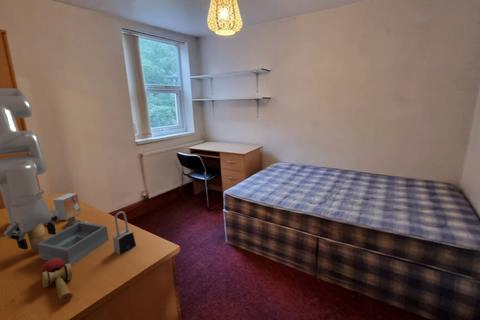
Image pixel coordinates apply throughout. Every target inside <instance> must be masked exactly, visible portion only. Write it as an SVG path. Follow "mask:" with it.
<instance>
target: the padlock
mask: <svg viewBox="0 0 480 320" xmlns="http://www.w3.org/2000/svg"><path fill="white" fill-rule="evenodd" d="M120 214H122V215H123V220H124V225H125V230H123V231H120V230H119V222H118V216H119V215H120ZM114 222H115V228H116V234H115V235H114V236H113V237H112V239H113V251H114V252H115V254H118V255H119V256H120V255H122V254H124V253H126V252H128V251H130V250H131V249H133V248H134V247H136V246H137V243H136V238H135V235H134V232H133V231H131V230H129V225H128V219H127V215H126V213H125V211H118V212H116V213H115V215H114Z"/></svg>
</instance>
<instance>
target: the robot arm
mask: <svg viewBox="0 0 480 320" xmlns="http://www.w3.org/2000/svg"><path fill="white" fill-rule="evenodd" d="M32 116H33V107H32V104H31V102H30V100H29V98H28V97H27V96H26V94H25V93H24V92H23V91H22V90H20V89H19V88H9V87H8V88H7V87H6V88H5V87H4V88H1V87H0V156H8V155H15V154H23V153H24V154H25V153H27V154H25V155H17V156H11V157H5V158H0V194H1V197H2V200H3V204H4V207H5V211H6V213H7V217H8V218H7V220H8V222H9V223H10V225H8V226H7V227H6V230H5V231H4V232H3V235H4V236H6V237H7V238H8V239H12V240H16V243H17V246H18V248H19V249H20V250H28V249H29V245H28V243H27V240H26V238H24V237H25V236H26V234H27V232H29V231H31V230H33V229H35V228H36V225H38V224H40V223H41V224H42V225H44V226H45V225H46V229H47V233H48V235H52V236H53V235H55V234H57V233H56V231H57V230H56V226H55V224H56V221H57V220H58V217H57V216H58V213H59V211H57V210H56V209H50V207H49V205H48V203H47V201H46V200H45V198H44V197H43V196H42V195H43V194H44V193H45V191H44V190H43V189H41V190H40V186H39V183H38V179H37V176H40V175H43V174H45V173H46V172H47V170H48V168H47V167H48V166H47V161H46V159H45V155H44V153H43V150H42V145H41V143H40V140H39V137H38V136H37V134H36V133H35V132H34V131H32V130H20V129H19V126H18V123H17V120H16V119H22V118H24V119H25V118H30V117H32Z"/></svg>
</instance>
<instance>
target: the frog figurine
mask: <svg viewBox="0 0 480 320" xmlns="http://www.w3.org/2000/svg"><path fill="white" fill-rule="evenodd" d="M75 217H76V216H75ZM75 217H70V218H69V219H68V220H67V222H66V224H65V225H64V228H65V229H66V228H68V227H70V226H72V225H74V224H76V223H78V222H83V221H82V220H80V219H76V218H75ZM84 223H90V224H91V221H89V220H84ZM64 228H62V230H61V231H63V230H65V229H64Z"/></svg>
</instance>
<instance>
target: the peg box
mask: <svg viewBox="0 0 480 320" xmlns="http://www.w3.org/2000/svg"><path fill="white" fill-rule="evenodd" d="M108 233H109V232H108V228H107V225H102V224H95V223H91V222H90V223H89V222H83V221H82V222H77V223H76V224H74V225H72V226H70V227H68V228H65V230H61V231H59V232H57V233H56V234H55V235H52V236H50V237H47V239H46V240H44V241H42V242H40V243H38V244H37V246H38V249H39V253H38V254H39V257H40V259H41V260H44V261H49V260H51V259H54V258H59V259H62V260H63V261H64V262H65V264H70V265H71V266H73V265H74V264H76V263H77V262H79V261H80V260H81V259H83V258H84V257H86V256H88V255H89V254H90V253H92V252H93V251H95V250H96V249H98V248H99V247H100V246H102V245H103V244H105V243H106V242H107V241H109V234H108Z"/></svg>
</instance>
